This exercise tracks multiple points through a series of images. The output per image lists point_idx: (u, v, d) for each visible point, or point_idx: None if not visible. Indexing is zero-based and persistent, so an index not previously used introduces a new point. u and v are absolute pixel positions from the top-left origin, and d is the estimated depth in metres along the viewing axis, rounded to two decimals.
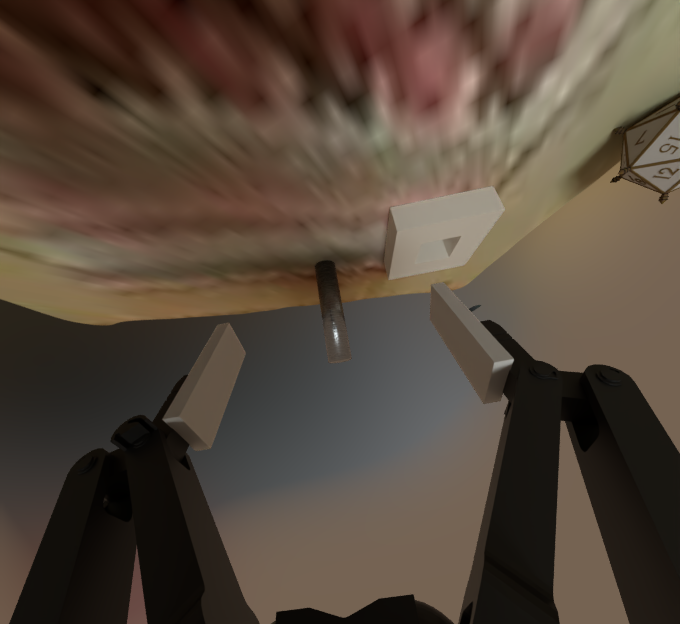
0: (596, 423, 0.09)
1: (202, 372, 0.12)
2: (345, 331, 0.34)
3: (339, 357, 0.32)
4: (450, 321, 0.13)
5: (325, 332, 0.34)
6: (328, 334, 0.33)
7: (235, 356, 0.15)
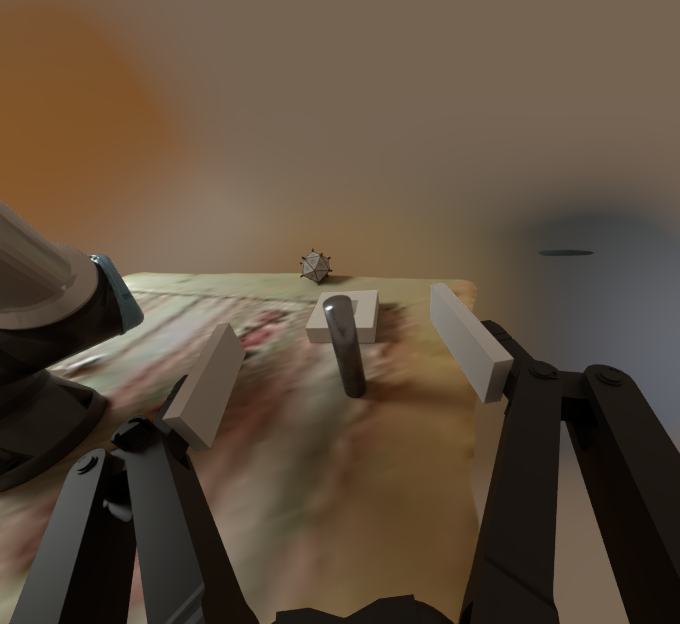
0: (596, 423, 0.09)
1: (202, 372, 0.12)
2: None
3: None
4: (450, 322, 0.13)
5: (333, 338, 0.28)
6: None
7: (235, 356, 0.15)
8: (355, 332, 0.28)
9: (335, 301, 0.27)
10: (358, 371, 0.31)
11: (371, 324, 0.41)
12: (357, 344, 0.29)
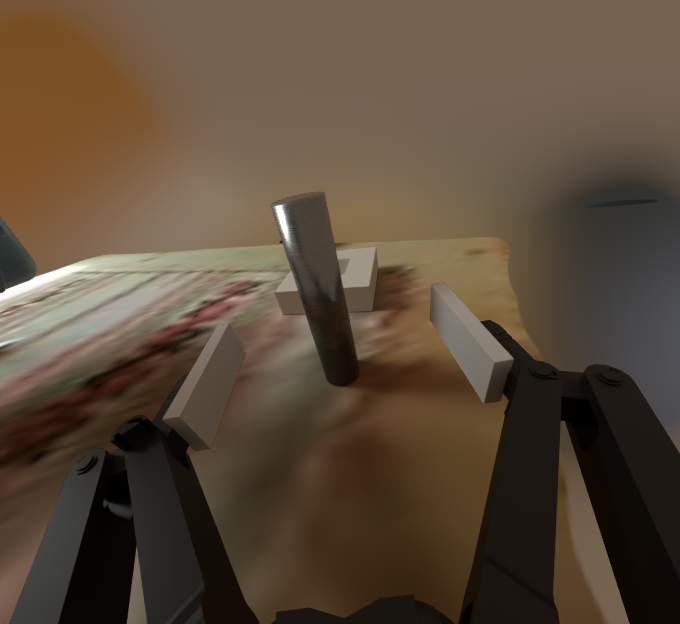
0: (596, 423, 0.09)
1: (202, 372, 0.12)
2: None
3: None
4: (450, 322, 0.13)
5: (295, 273, 0.15)
6: (289, 263, 0.16)
7: (235, 356, 0.15)
8: (335, 263, 0.16)
9: (295, 198, 0.14)
10: (344, 339, 0.19)
11: (367, 282, 0.28)
12: (340, 288, 0.17)
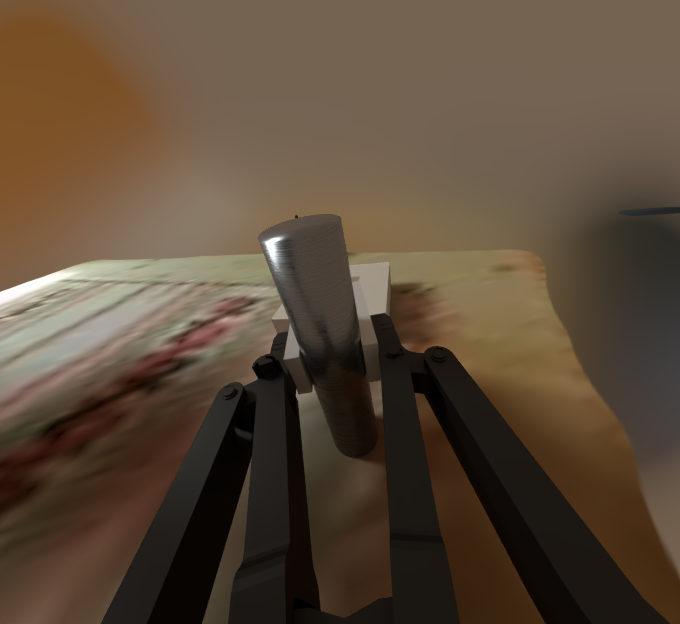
0: None
1: None
2: None
3: None
4: None
5: (296, 331, 0.11)
6: None
7: None
8: (354, 316, 0.11)
9: (296, 225, 0.09)
10: (362, 407, 0.14)
11: (383, 311, 0.23)
12: (359, 347, 0.12)
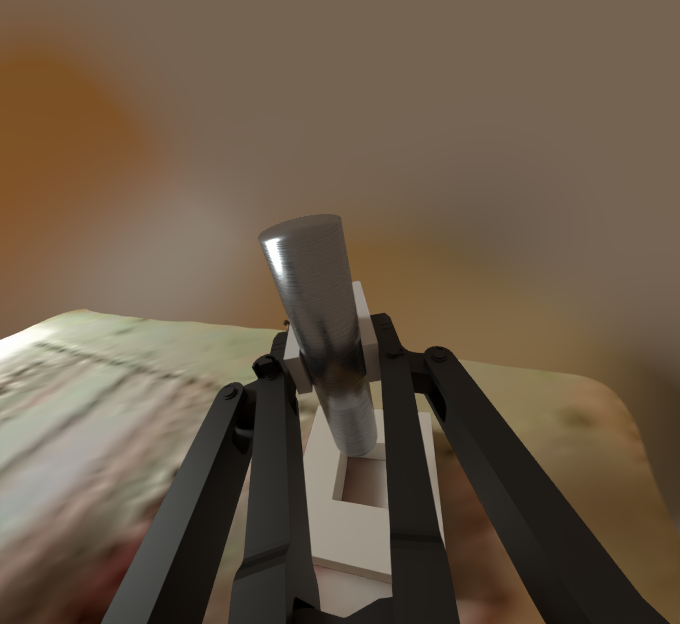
0: None
1: None
2: None
3: None
4: None
5: (296, 331, 0.11)
6: None
7: None
8: (354, 316, 0.11)
9: (296, 225, 0.09)
10: (362, 407, 0.14)
11: None
12: (359, 347, 0.12)
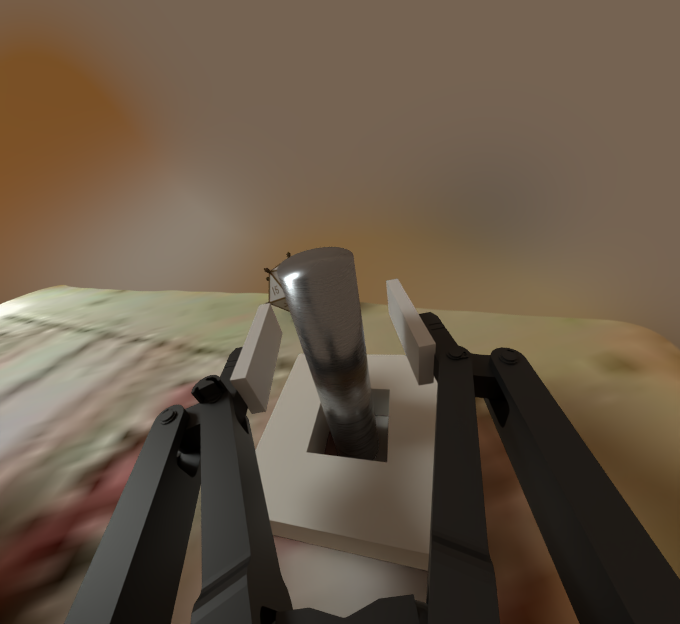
0: (507, 398, 0.10)
1: (256, 343, 0.13)
2: None
3: None
4: (397, 314, 0.14)
5: (308, 355, 0.11)
6: None
7: (275, 334, 0.17)
8: (362, 340, 0.12)
9: (312, 259, 0.10)
10: (365, 422, 0.14)
11: None
12: (365, 368, 0.13)
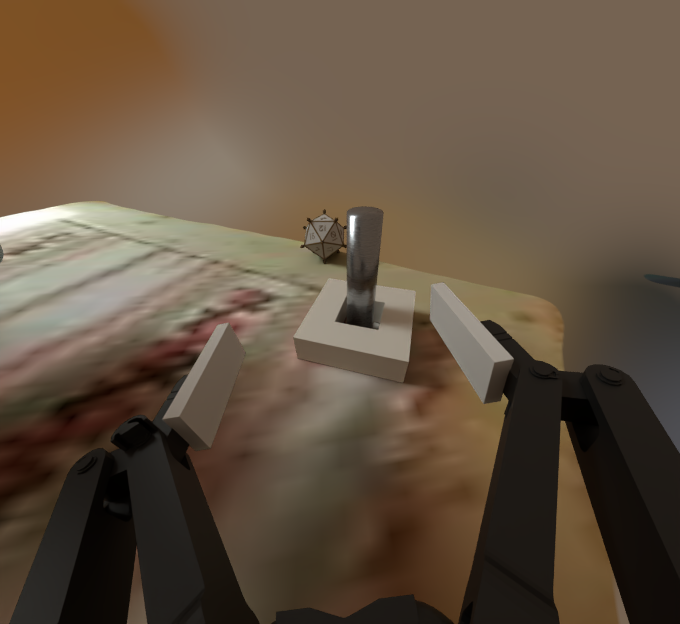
0: (596, 423, 0.09)
1: (202, 372, 0.12)
2: None
3: None
4: (450, 321, 0.13)
5: (351, 260, 0.23)
6: (347, 252, 0.23)
7: (235, 356, 0.15)
8: (378, 258, 0.23)
9: (363, 211, 0.21)
10: (369, 309, 0.27)
11: (406, 355, 0.24)
12: (376, 275, 0.24)
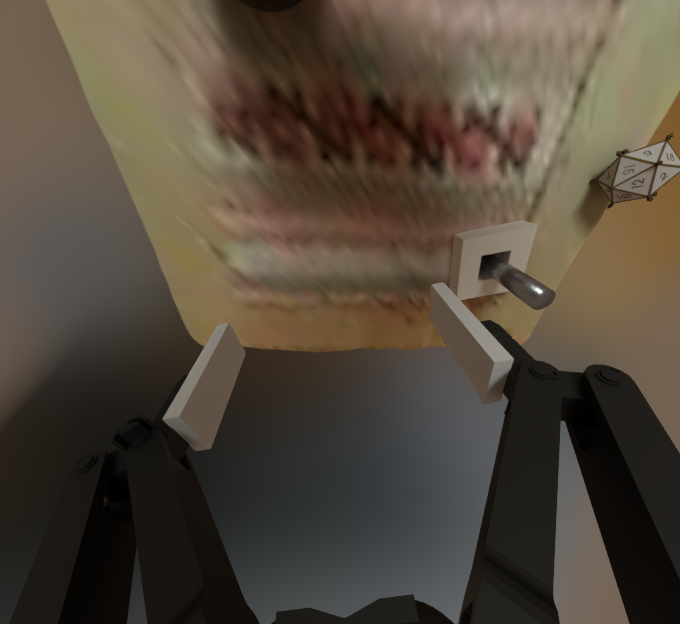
0: (596, 423, 0.09)
1: (202, 372, 0.12)
2: None
3: (546, 289, 0.32)
4: (450, 322, 0.13)
5: (514, 282, 0.36)
6: (520, 281, 0.35)
7: (235, 356, 0.15)
8: None
9: (545, 298, 0.33)
10: None
11: (460, 299, 0.46)
12: None
